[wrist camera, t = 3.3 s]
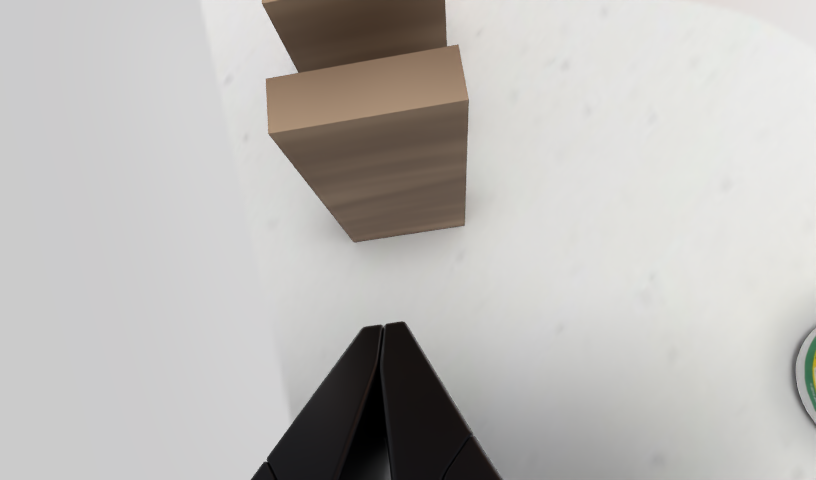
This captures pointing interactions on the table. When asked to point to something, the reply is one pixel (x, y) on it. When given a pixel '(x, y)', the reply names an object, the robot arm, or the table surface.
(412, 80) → the domino
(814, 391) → the supplement bottle
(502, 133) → the table surface
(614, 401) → the table surface
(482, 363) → the table surface
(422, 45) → the domino
